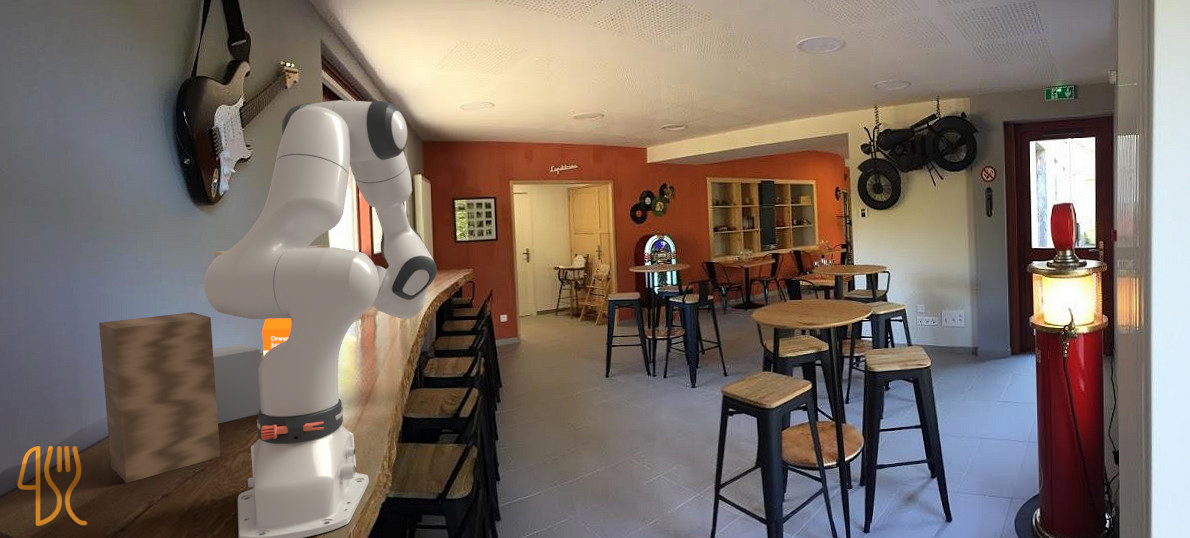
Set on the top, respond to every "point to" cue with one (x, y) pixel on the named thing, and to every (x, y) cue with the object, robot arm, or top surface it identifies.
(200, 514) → the top surface
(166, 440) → the walnut post
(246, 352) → the grey block
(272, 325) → the orange juice
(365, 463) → the top surface
